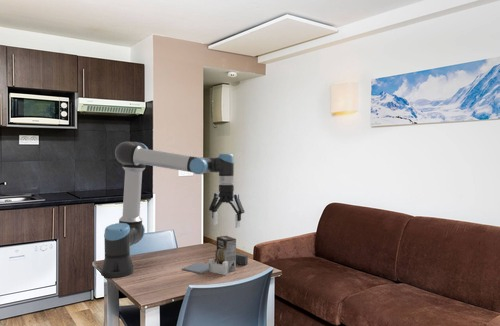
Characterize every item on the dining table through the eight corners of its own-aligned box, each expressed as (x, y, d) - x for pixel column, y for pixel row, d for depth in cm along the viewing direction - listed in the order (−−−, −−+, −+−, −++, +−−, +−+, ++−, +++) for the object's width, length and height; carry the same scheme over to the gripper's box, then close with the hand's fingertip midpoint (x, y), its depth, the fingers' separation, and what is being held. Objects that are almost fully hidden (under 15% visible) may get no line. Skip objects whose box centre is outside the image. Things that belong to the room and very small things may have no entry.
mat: (181, 269, 189) (181, 268, 189) (198, 263, 200) (198, 262, 200) (202, 274, 182) (202, 272, 182) (217, 267, 193) (217, 265, 193)
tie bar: (215, 259, 206) (215, 250, 206) (218, 258, 209) (218, 249, 208) (245, 265, 196) (245, 255, 196) (247, 263, 198) (247, 254, 198)
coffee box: (216, 268, 192) (216, 236, 191) (226, 265, 196) (226, 235, 195) (225, 272, 185) (225, 240, 184) (236, 270, 188) (236, 238, 188)
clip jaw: (208, 271, 186) (208, 259, 186) (211, 270, 188) (211, 258, 188) (225, 275, 181) (225, 262, 181) (228, 273, 183) (228, 261, 183)
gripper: (202, 183, 192) (202, 224, 193) (243, 185, 179) (243, 229, 180) (211, 182, 199) (211, 222, 199) (251, 184, 186) (251, 227, 186)
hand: (226, 226), depth 190 cm, fingers open, 13 cm apart
